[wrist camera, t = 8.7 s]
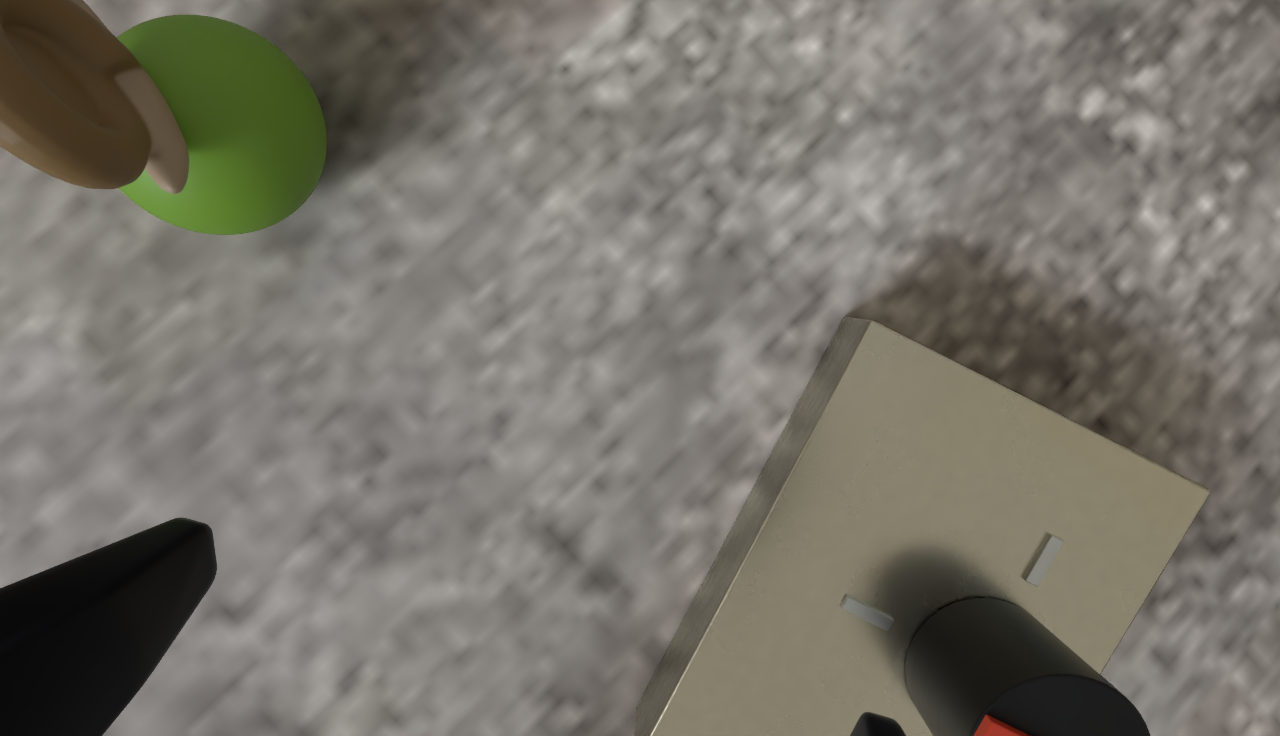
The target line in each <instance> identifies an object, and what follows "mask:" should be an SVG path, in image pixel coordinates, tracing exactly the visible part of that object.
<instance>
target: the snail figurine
mask: <svg viewBox="0 0 1280 736" xmlns="http://www.w3.org/2000/svg"><path fill="white" fill-rule="evenodd" d="M0 146H1V147H2V148H4V149H5V150H7V151H8V152H10V153H11V154H13V155H15V156H16V157H18V158H19V159H21V160H22V161H24V162H26V163H27V164H29V165H31V166H33V167H35V168H37V169H39V170H41V171H42V172H44V173H46V174H48V175H51V176H53V177H55V178H58V179H60V180H63V181H65V182H68V183H71V184H74V185H78V186H82V187H86V188H92V189H116V188H119V189H120V190H121V191H122V192H123V193H124V194H125V195H126V196H127V197H129V198H130V199H131V200H132V201H133V202H135V203H136V204H137V205H139V206H140V207H141V208H143V209H144V210H146V211H147V212H149V213H151V214H152V215H154V216H156V217H158V218H160V219H161V220H164V221H166V222H168V223H170V224H173V225H175V226H178V227H181V228H184V229H187V230H191V231H195V232H201V233H207V234H217V235H233V234H243V233H249V232H253V231H257V230H261V229H264V228H266V227H269V226H271V225H274V224H276V223H278V222H280V221H281V220H283V219H285V218H286V217H288V216H289V215H291V214H292V213H293V212H295V211H296V210H297V209H298V208H299V207H300V206H301V205H302V204H303V203H304V202H305V201H306V200H307V198H308V197H309V196H310V195H311V193H312V192H313V190H314V188H315V187H316V185H317V183H318V181H319V179H320V176H321V174H322V171H323V167H324V164H325V159H326V151H327V133H326V125H325V120H324V116H323V113H322V109H321V106H320V104H319V101H318V99H317V97H316V95H315V93H314V91H313V89H312V87H311V85H310V84H309V82H308V80H307V79H306V78H305V76H304V75H303V73H302V72H301V71H300V70H299V68H298V67H297V66H296V65H295V64H294V63H293V62H292V60H291V59H290V58H289V57H288V56H287V55H285V54H284V53H283V52H282V51H281V50H280V49H278V48H277V47H276V46H275V45H273V44H272V43H271V42H269V41H268V40H266V39H265V38H263V37H262V36H260V35H258V34H257V33H255V32H253V31H251V30H249V29H247V28H245V27H242V26H240V25H237V24H235V23H232V22H229V21H226V20H222V19H218V18H214V17H208V16H201V15H172V16H165V17H160V18H156V19H152V20H149V21H146V22H143V23H141V24H138V25H136V26H134V27H132V28H131V29H129V30H127V31H125V32H124V33H123V34H121V35H120V36H119V37H117V38H116V37H115V36H114V35H113V34H112V33H111V32H110V31H109V30H108V29H107V27H106V26H105V25H104V24H103V22H102V21H101V20H100V19H99V18H98V16H97V15H96V14H95V13H94V12H93V11H92V9H91V8H90V7H89V6H88V5H87V4H86V3H85V2H84V1H83V0H0Z"/></svg>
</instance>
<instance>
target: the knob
mask: <svg viewBox="0 0 1280 736" xmlns="http://www.w3.org/2000/svg"><path fill="white" fill-rule="evenodd" d="M905 677H906V684H907V688H908V692H909V695H910V697H911V700H912V701H913V703H914V705H915V707H916V708H917V710H918V712H919V713H920V715H921V717H922V718H923V720H924V722H925V723H926V725H927V726H928V728H929V730H930V731H931V733H932V735H933V736H1150V733H1149V731H1148V728H1147V725H1146V723H1145V721H1144V720H1143V718H1142V716H1141V714H1140V713H1139V711H1138V710H1137V709H1136V707H1135V706H1134V705H1133V704H1132V703H1131V702H1130V701H1129V700H1128V699H1127V698H1126V697H1125V696H1124V695H1123V694H1122V693H1121V692H1120V691H1118V690H1117V689H1116V688H1115V687H1114V686H1113V685H1111V684H1110V683H1109V682H1108V681H1107V680H1106V679H1105V678H1103V677H1102V676H1101V675H1100V674H1099V673H1098V672H1097V671H1095V670H1094V669H1093V668H1092V667H1091V666H1090V665H1088V664H1087V663H1086V662H1085V661H1084V660H1083V659H1082V658H1080V657H1079V656H1078V655H1077V654H1076V653H1075V652H1074V651H1072V650H1071V649H1070V648H1069V647H1068V646H1067V645H1066V644H1064V643H1063V642H1062V641H1061V640H1060V639H1059V638H1057V637H1056V636H1055V635H1054V634H1053V633H1052V632H1051V631H1049V630H1048V629H1047V628H1046V627H1045V626H1044V625H1043V624H1041V623H1040V622H1039V621H1038V620H1037V619H1036V618H1034V617H1033V616H1032V615H1031V614H1029V613H1028V612H1027V611H1025V610H1024V609H1022V608H1020V607H1018V606H1016V605H1014V604H1012V603H1009V602H1006V601H1002V600H998V599H991V598H975V599H967V600H963V601H959V602H956V603H954V604H951V605H949V606H947V607H945V608H943V609H941V610H940V611H938V612H937V613H935V614H934V615H932V616H931V617H930V618H929V619H928V620H927V621H926V622H925V623H924V624H923V625H922V626H921V628H920V629H919V630H918V632H917V633H916V635H915V636H914V638H913V640H912V642H911V645H910V647H909V650H908V653H907V659H906V664H905Z"/></svg>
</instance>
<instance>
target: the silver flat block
mask: <svg viewBox="0 0 1280 736" xmlns="http://www.w3.org/2000/svg"><path fill="white" fill-rule="evenodd" d="M1209 494H1210V490H1209V489H1208V488H1206V487H1204V486H1202V485H1200V484H1198V483H1196V482H1194V481H1192V480H1190V479H1188V478H1186V477H1184V476H1182V475H1180V474H1178V473H1176V472H1174V471H1172V470H1170V469H1168V468H1166V467H1164V466H1162V465H1160V464H1158V463H1156V462H1154V461H1152V460H1150V459H1148V458H1146V457H1144V456H1142V455H1141V454H1139V453H1137V452H1135V451H1133V450H1131V449H1129V448H1127V447H1125V446H1123V445H1121V444H1119V443H1117V442H1115V441H1113V440H1111V439H1109V438H1107V437H1105V436H1103V435H1101V434H1099V433H1097V432H1095V431H1093V430H1091V429H1089V428H1087V427H1085V426H1083V425H1081V424H1079V423H1077V422H1075V421H1073V420H1071V419H1069V418H1067V417H1065V416H1063V415H1061V414H1059V413H1057V412H1055V411H1053V410H1051V409H1049V408H1047V407H1045V406H1043V405H1041V404H1039V403H1037V402H1035V401H1033V400H1031V399H1029V398H1027V397H1025V396H1023V395H1021V394H1019V393H1017V392H1016V391H1014V390H1012V389H1010V388H1008V387H1006V386H1004V385H1002V384H1000V383H998V382H996V381H994V380H992V379H990V378H988V377H986V376H984V375H982V374H980V373H978V372H976V371H974V370H972V369H970V368H968V367H966V366H964V365H962V364H960V363H958V362H956V361H954V360H952V359H950V358H948V357H946V356H944V355H942V354H940V353H938V352H936V351H934V350H932V349H930V348H928V347H926V346H924V345H922V344H920V343H918V342H916V341H914V340H912V339H910V338H908V337H906V336H904V335H902V334H900V333H898V332H896V331H894V330H892V329H891V328H889V327H887V326H885V325H883V324H881V323H879V322H877V321H875V320H867V319H859V318H851V317H844V318H843V319H842V321H841V323H840V325H839V327H838V329H837V331H836V332H835V334H834V336H833V338H832V340H831V342H830V344H829V346H828V348H827V349H826V351H825V353H824V355H823V357H822V359H821V361H820V363H819V364H818V366H817V368H816V370H815V372H814V374H813V376H812V378H811V380H810V381H809V383H808V385H807V387H806V389H805V391H804V393H803V395H802V397H801V398H800V400H799V402H798V404H797V406H796V408H795V410H794V412H793V414H792V415H791V417H790V419H789V421H788V423H787V425H786V427H785V429H784V430H783V432H782V434H781V436H780V438H779V440H778V442H777V444H776V446H775V447H774V449H773V451H772V453H771V455H770V457H769V459H768V461H767V463H766V464H765V466H764V468H763V470H762V472H761V474H760V476H759V478H758V480H757V481H756V483H755V485H754V487H753V489H752V491H751V493H750V495H749V496H748V498H747V500H746V502H745V504H744V506H743V508H742V510H741V512H740V513H739V515H738V517H737V519H736V521H735V523H734V525H733V527H732V529H731V530H730V532H729V534H728V536H727V538H726V540H725V542H724V544H723V546H722V547H721V549H720V551H719V553H718V555H717V557H716V559H715V561H714V562H713V564H712V566H711V568H710V570H709V572H708V574H707V576H706V578H705V579H704V581H703V583H702V585H701V587H700V589H699V591H698V593H697V595H696V596H695V598H694V600H693V602H692V604H691V606H690V608H689V610H688V612H687V613H686V615H685V617H684V619H683V621H682V623H681V625H680V627H679V628H678V630H677V632H676V634H675V636H674V638H673V640H672V642H671V644H670V645H669V647H668V649H667V651H666V653H665V655H664V657H663V659H662V661H661V662H660V664H659V666H658V668H657V670H656V672H655V674H654V676H653V678H652V679H651V681H650V683H649V685H648V687H647V689H646V691H645V693H644V694H643V696H642V698H641V700H640V702H639V704H638V706H637V708H636V721H635V736H850V735H851V733H852V731H853V729H854V727H855V725H856V723H857V721H858V719H859V718H860V716H861V715H862V714H863V713H865V712H871V713H875V714H879V715H882V716H886V717H889V718H892V719H894V720H895V721H897V722H898V724H899V725H900V726H901V728H902V729H903V731H904V733H905V735H906V736H933V735H932V733H931V731H930V730H929V728H928V726H927V725H926V723H925V722H924V720H923V718H922V717H921V715H920V713H919V712H918V710H917V708H916V707H915V705H914V703H913V701H912V700H911V697H910V695H909V692H908V688H907V684H906V677H905V664H906V659H907V653H908V650H909V647H910V645H911V642H912V640H913V638H914V636H915V635H916V633H917V632H918V630H919V629H920V628H921V626H922V625H923V624H924V623H925V622H926V621H927V620H928V619H929V618H930V617H931V616H932V615H934V614H935V613H937V612H938V611H940V610H941V609H943V608H945V607H947V606H949V605H951V604H954V603H956V602H959V601H963V600H967V599H975V598H991V599H998V600H1002V601H1006V602H1009V603H1012V604H1014V605H1016V606H1018V607H1020V608H1022V609H1024V610H1025V611H1027V612H1028V613H1029V614H1031V615H1032V616H1033V617H1034V618H1036V619H1037V620H1038V621H1039V622H1040V623H1041V624H1043V625H1044V626H1045V627H1046V628H1047V629H1048V630H1049V631H1051V632H1052V633H1053V634H1054V635H1055V636H1056V637H1057V638H1059V639H1060V640H1061V641H1062V642H1063V643H1064V644H1066V645H1067V646H1068V647H1069V648H1070V649H1071V650H1072V651H1074V652H1075V653H1076V654H1077V655H1078V656H1079V657H1080V658H1082V659H1083V660H1084V661H1085V662H1086V663H1087V664H1088V665H1090V666H1091V667H1092V668H1093V669H1094V670H1095V671H1097V672H1098V673H1099V674H1101V672H1102V671H1103V669H1104V667H1105V666H1106V664H1107V662H1108V661H1109V659H1110V657H1111V656H1112V654H1113V653H1114V651H1115V649H1116V648H1117V646H1118V644H1119V643H1120V641H1121V639H1122V638H1123V636H1124V634H1125V633H1126V631H1127V629H1128V628H1129V626H1130V624H1131V623H1132V621H1133V620H1134V618H1135V616H1136V615H1137V613H1138V611H1139V610H1140V608H1141V606H1142V605H1143V603H1144V601H1145V600H1146V598H1147V596H1148V595H1149V593H1150V591H1151V590H1152V588H1153V587H1154V585H1155V583H1156V582H1157V580H1158V578H1159V577H1160V575H1161V573H1162V572H1163V570H1164V568H1165V567H1166V565H1167V563H1168V562H1169V560H1170V558H1171V557H1172V555H1173V554H1174V552H1175V550H1176V549H1177V547H1178V545H1179V544H1180V542H1181V540H1182V539H1183V537H1184V535H1185V534H1186V532H1187V530H1188V529H1189V527H1190V525H1191V524H1192V522H1193V521H1194V519H1195V517H1196V516H1197V514H1198V512H1199V511H1200V509H1201V507H1202V506H1203V504H1204V502H1205V501H1206V499H1207V497H1208V496H1209Z"/></svg>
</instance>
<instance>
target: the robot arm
mask: <svg viewBox="0 0 1280 736" xmlns="http://www.w3.org/2000/svg"><path fill="white" fill-rule="evenodd" d="M216 571H217V563H216V555H215V548H214V540H213V533H212V530H211V528H210V527H209V526H208V525H207V524H205V523H202V522H198V521H194V520H191V519H187V518H176V519H172V520H170V521H167V522H165V523H162V524H160V525H157V526H155V527H152V528H150V529H147V530H145V531H142V532H140V533H137V534H135V535H132V536H130V537H127V538H125V539H122V540H120V541H117V542H115V543H112V544H110V545H107V546H105V547H102V548H100V549H97V550H95V551H92V552H90V553H87V554H85V555H82V556H80V557H77V558H75V559H72V560H70V561H67V562H65V563H62V564H60V565H58V566H55V567H53V568H50V569H48V570H45V571H43V572H40V573H38V574H35V575H33V576H30V577H28V578H25V579H23V580H20V581H18V582H15V583H13V584H10V585H8V586H5V587H3V588H0V736H102V735H103V734H104V733H105V731H106V730H107V729H108V728H109V727H110V725H111V724H112V723H113V722H114V720H115V719H116V718H117V717H118V716H119V714H120V713H121V712H122V711H123V710H124V708H125V707H126V706H127V705H128V703H129V702H130V701H131V700H132V698H133V697H134V696H135V695H136V693H137V692H138V691H139V690H140V688H141V687H142V686H143V684H144V683H145V682H146V680H147V679H148V678H149V676H150V675H151V673H152V672H153V671H154V669H155V668H156V666H157V665H158V663H159V662H160V660H161V659H162V657H163V656H164V654H165V653H166V651H167V650H168V649H169V647H170V646H171V644H172V643H173V641H174V640H175V638H176V637H177V635H178V634H179V632H180V631H181V629H182V628H183V626H184V625H185V623H186V622H187V620H188V619H189V617H190V616H191V615H192V613H193V612H194V610H195V609H196V607H197V606H198V604H199V603H200V601H201V600H202V598H203V597H204V595H205V594H206V592H207V591H208V589H209V588H210V586H211V585H212V583H213V581H214V579H215V575H216ZM850 736H906V735H905V733H904V731H903V729H902V728H901V726H900V725H899V724H898V722H897V721H895V720H894V719H892V718H889V717H886V716H882V715H879V714H875V713H871V712H865V713H863V714H862V715H861V716H860V718H859V719H858V721H857V723H856V725H855V727H854V729H853V731H852V733H851V735H850Z"/></svg>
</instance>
